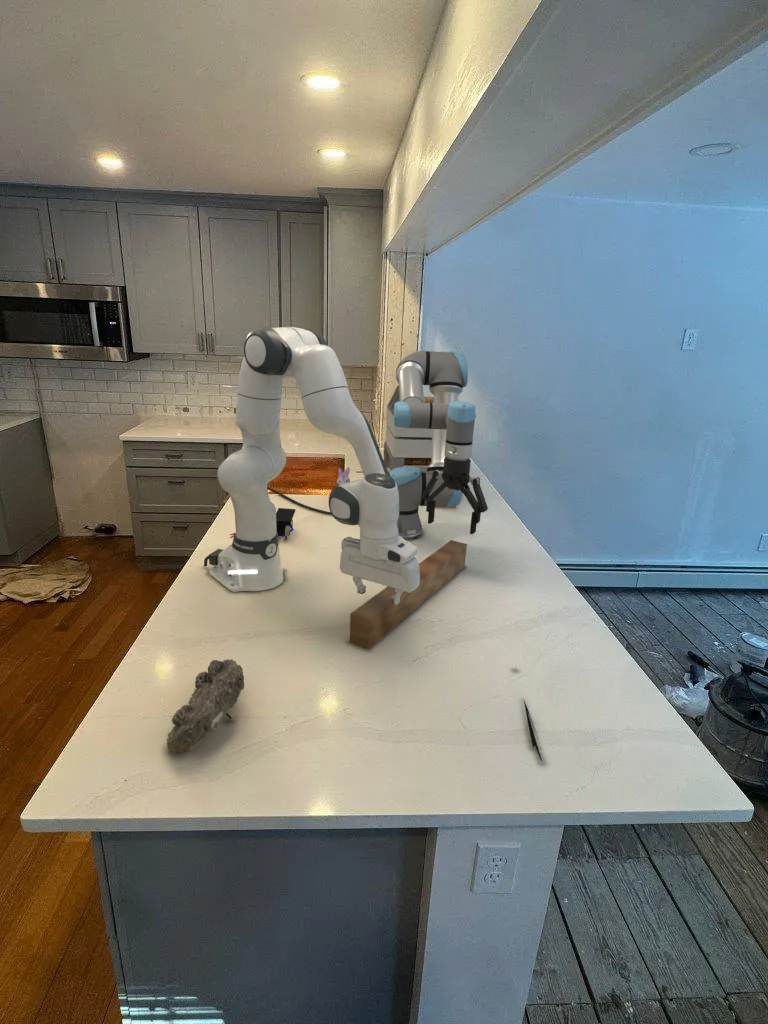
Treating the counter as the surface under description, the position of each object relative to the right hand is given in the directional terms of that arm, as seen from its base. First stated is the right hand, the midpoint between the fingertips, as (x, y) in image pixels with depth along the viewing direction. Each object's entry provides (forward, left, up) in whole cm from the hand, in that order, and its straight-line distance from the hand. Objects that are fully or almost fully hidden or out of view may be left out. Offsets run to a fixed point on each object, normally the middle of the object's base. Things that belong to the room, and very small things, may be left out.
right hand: (451, 527), depth 167 cm
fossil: (+17, -83, -15) cm, 86 cm away
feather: (+54, -34, -15) cm, 65 cm away
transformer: (-84, +70, -15) cm, 110 cm away
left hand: (+13, -39, -5) cm, 42 cm away
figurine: (-67, +12, -15) cm, 70 cm away
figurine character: (-53, -25, -15) cm, 61 cm away
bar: (+6, -20, -15) cm, 25 cm away
